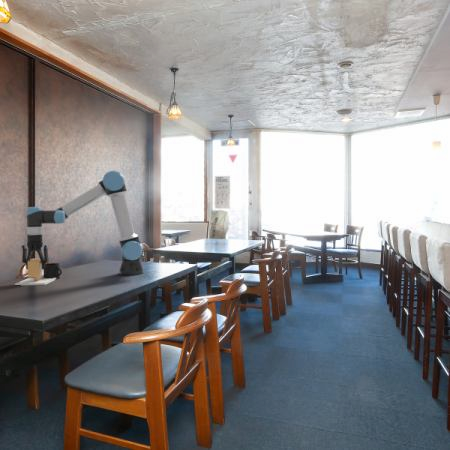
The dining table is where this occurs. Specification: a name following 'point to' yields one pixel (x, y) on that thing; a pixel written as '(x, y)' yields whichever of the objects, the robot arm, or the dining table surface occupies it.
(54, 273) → the mug
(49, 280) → the junction board
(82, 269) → the dining table surface
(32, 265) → the tan rectangular block
